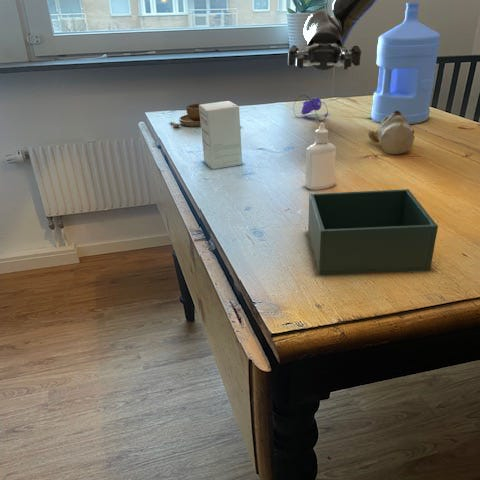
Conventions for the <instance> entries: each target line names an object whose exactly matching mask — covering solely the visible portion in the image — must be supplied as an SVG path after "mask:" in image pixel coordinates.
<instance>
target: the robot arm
mask: <svg viewBox="0 0 480 480" xmlns="http://www.w3.org/2000/svg"><path fill="white" fill-rule="evenodd" d="M377 1H378V0H334V1H333V3H332V5H331V7H332V8H331V9H332V14H333V16H334V17H332V15H331V14H330V13H328V12H327V11H326V10H324V9H318V10H316V11H314V12H313V13H312V14H310V16H308V18H307V20H306V21H305V24H304V27H303V37H304V39H305V40H306V42H307V45H306V46H304V48H303V49H299V46H297V45H291V46H290V47H289V48H288V52H287V65H288V66H293V65H295V67H297V68H298V69H299V70H303V69H304V67H313V68H314V69H315V70H318V71H328V70H331V69H333V68H335V67H338V68H339V67H343V70H348V69H349V68H351V67H352V65H353V66H355V67H358V66H360V65H361V55H362V50H361V48H360V46H359V45H353V46H352V47H350V49H349V50H347V48H346V47H345V44H346V42H347V40H348V38H349V36H350V34H351V32H352V30H353V29H354V28H355V26H356V25H357V23H358V22H359V21H360V20H361V19H362V18H363V16H364V15H366V13H367V12H368V11H369V10H370V9H371V8H372V7H373V6H374V5H375V3H376V2H377Z"/></svg>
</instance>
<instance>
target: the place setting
mask: <svg viewBox="0 0 480 480" xmlns="http://www.w3.org/2000/svg"><path fill="white" fill-rule="evenodd" d="M201 104H202V103H193V104H188V105H186V106H185V109H186V114H184V115H181V116H179V118H178V121H179V123H176V122H173V121H171V122H170V124H173V127H175V128H177V127H180V125H182V126H185V127H193V128H195V127H196V128H198V127H201V123H200V113H199V105H201Z"/></svg>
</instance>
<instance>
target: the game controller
mask: <svg viewBox="0 0 480 480" xmlns="http://www.w3.org/2000/svg"><path fill="white" fill-rule="evenodd" d="M301 97H307V98H309V100H308V99H307V100H305V101H303V102H302V108H301V111H300V112H301V115H307V116H302V117H301V119H304V118H307V117H311V116H314V115H315V116H316V117H317V120H318V121H319V122H321V120H320V118H319V116H318V113H317V111H319V110H321V108H322V103H323V104H324V105H325V106H326V111H327V112H326V113H325V114H324V118H323V120H325V119H326V118H327V117H328V114H329V109H328V107H327V104H326V103H325V102H324V101H321V98H319V97H312V98H310V97H309V96H307V95H300V96H299V98H301ZM296 102H297V100H295V101H294V104H293V105H295V104H296ZM292 110H293V111H295V107H293V109H292ZM313 111H314V114H310V113H312V112H313ZM293 114H294V116H295V117H296V118H297V119H300V117H298V116H297V115H296V113H295V112H293ZM308 114H310V115H308ZM319 115H323V114H322V113H319Z"/></svg>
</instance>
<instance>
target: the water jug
mask: <svg viewBox="0 0 480 480" xmlns="http://www.w3.org/2000/svg"><path fill="white" fill-rule="evenodd" d="M405 6H406V9H405V11H404V14H405V15H404V20H403V22H401V23H400V24H397V25H396V26H394V27H393V28H391V29H389V30H387V31H386V32H384V33H382V34H380V36H378V43H377V46H376V63H375V64H376V65H377V66H378V68H379V70H378V79H377V81H378V82H377V88H376V90H375V91H374V92H373V98H372V109H371V113H370V114H371V115H370V116H371V119H372V120H373V121H374V122H376V123H378V124H381V122H382V120H383V119H384V118H386V117H387V116H391V115H392V114H393V113H394V112H395V111H399V112H400V113H401V114H402V115H404V117H405V118H406V120H407V122H408V123H409V125H410V126H411V125H417V124H421V123H424V122H425V121H427V120H428V119H429V116H430V112H431V111H430V110H431V109H430V107H431V101H432V93H433V87H434V84H435V73H436V67H437V66H436V65H437V60H438V53H439V50H440V44H441V43H440V42H441V41H440V40H441V34H440V33H439V32H437V31H435V30H434V29H432V28H430V27H428V26H427V25H425V24H424V23H421V22H419V20H418V17H419V11H420V10H419V7H420V2H419V1H418V2H415V1H414V2H406V3H405Z"/></svg>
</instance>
